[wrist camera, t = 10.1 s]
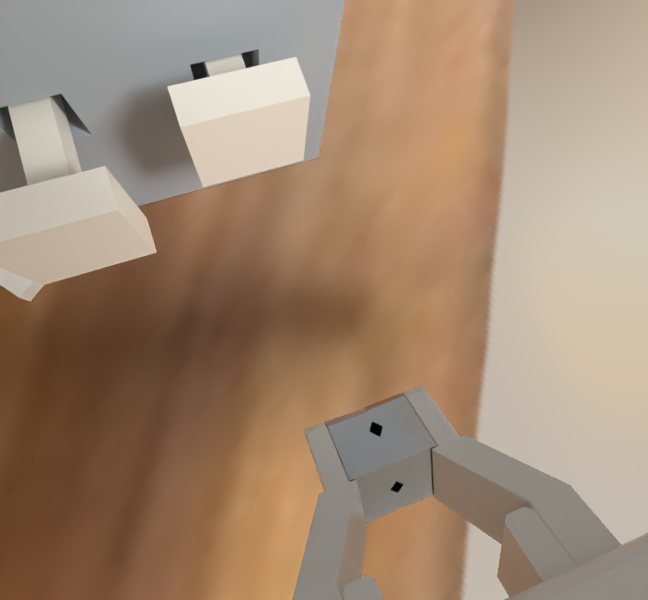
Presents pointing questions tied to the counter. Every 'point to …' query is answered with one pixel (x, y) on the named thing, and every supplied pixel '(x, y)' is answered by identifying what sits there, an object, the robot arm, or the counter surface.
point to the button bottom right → (243, 117)
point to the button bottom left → (64, 205)
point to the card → (19, 285)
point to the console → (149, 75)
